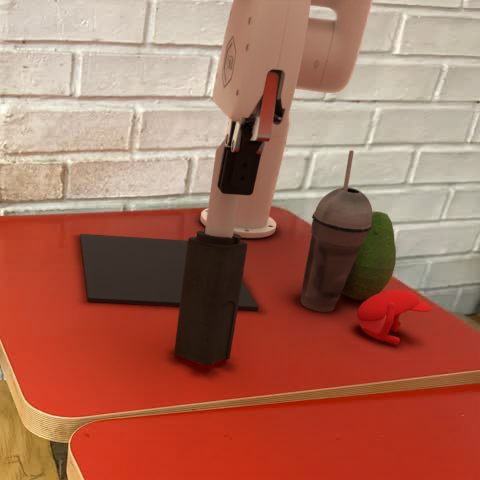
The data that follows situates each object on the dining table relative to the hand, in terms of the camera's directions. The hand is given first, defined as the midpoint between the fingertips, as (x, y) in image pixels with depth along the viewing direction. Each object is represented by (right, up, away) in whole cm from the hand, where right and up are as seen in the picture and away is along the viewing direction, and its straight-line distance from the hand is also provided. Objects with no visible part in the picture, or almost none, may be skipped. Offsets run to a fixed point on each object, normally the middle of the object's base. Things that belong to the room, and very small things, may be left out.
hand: (234, 191), depth 67 cm
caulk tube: (-2, -16, +10) cm, 19 cm away
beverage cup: (+16, -8, +26) cm, 31 cm away
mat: (-4, -3, +30) cm, 30 cm away
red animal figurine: (+23, -13, +19) cm, 32 cm away
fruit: (+22, -7, +29) cm, 37 cm away
